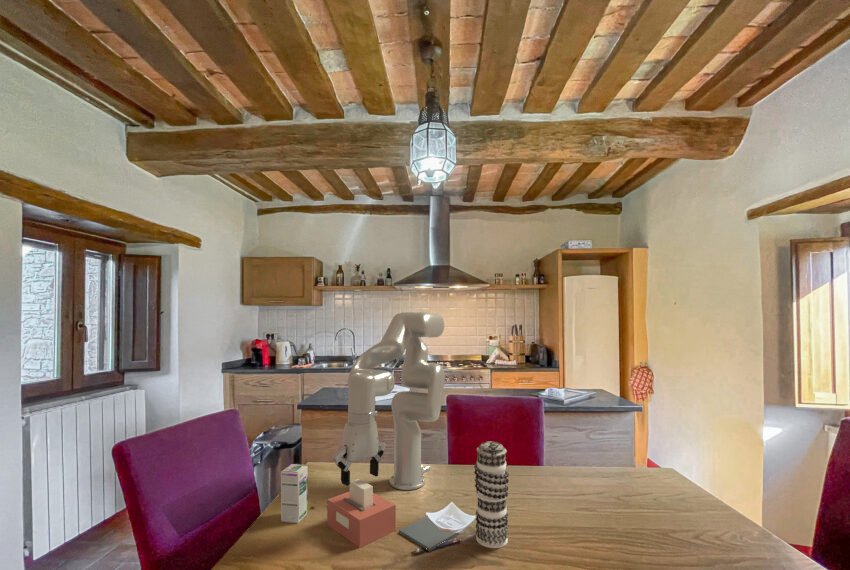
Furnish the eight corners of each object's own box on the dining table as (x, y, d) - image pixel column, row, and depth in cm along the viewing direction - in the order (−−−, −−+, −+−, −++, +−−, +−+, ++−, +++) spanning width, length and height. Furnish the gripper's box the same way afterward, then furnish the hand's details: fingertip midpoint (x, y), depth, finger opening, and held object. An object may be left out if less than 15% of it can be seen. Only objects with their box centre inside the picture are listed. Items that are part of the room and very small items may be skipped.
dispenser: (361, 510, 128) (362, 485, 128) (395, 530, 116) (395, 503, 117) (326, 524, 119) (326, 498, 120) (359, 548, 108) (359, 519, 108)
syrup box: (298, 523, 120) (299, 472, 120) (279, 521, 121) (280, 470, 122) (308, 513, 125) (308, 464, 126) (290, 511, 127) (290, 463, 127)
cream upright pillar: (358, 510, 122) (358, 478, 122) (372, 519, 116) (372, 486, 117) (349, 513, 119) (349, 481, 120) (363, 523, 114) (364, 489, 115)
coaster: (430, 517, 123) (430, 514, 123) (460, 533, 115) (460, 530, 115) (399, 532, 115) (399, 529, 115) (429, 551, 106) (429, 548, 107)
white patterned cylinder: (473, 529, 117) (472, 438, 118) (506, 530, 117) (505, 439, 118) (475, 548, 108) (475, 450, 109) (512, 549, 107) (511, 450, 109)
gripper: (377, 410, 128) (376, 468, 126) (327, 420, 116) (325, 484, 115) (393, 415, 122) (392, 475, 121) (342, 425, 110) (341, 492, 109)
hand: (360, 479), depth 118 cm, fingers open, 9 cm apart
